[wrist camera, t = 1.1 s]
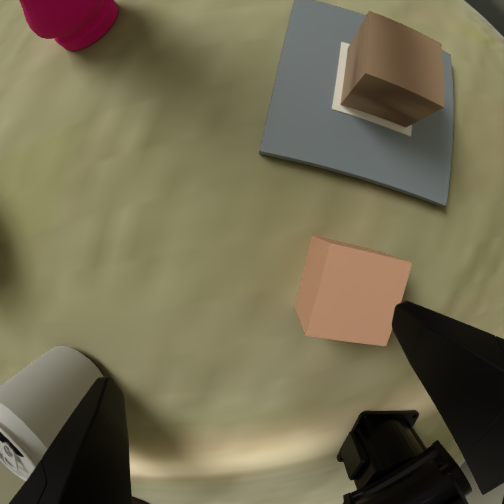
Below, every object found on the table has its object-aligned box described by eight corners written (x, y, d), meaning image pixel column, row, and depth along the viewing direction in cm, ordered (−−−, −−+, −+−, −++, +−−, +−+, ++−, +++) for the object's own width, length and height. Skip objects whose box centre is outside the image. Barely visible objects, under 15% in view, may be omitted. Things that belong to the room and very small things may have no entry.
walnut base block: (408, 71, 16) (441, 43, 11) (405, 127, 17) (444, 107, 12) (347, 48, 16) (369, 10, 11) (340, 104, 17) (365, 73, 12)
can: (119, 364, 21) (41, 458, 9) (112, 422, 22) (57, 508, 10) (50, 328, 20) (-42, 387, 9) (50, 387, 21) (-17, 452, 10)
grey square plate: (445, 59, 17) (451, 54, 15) (438, 205, 18) (446, 205, 17) (293, 3, 16) (295, -5, 15) (259, 154, 18) (259, 150, 17)
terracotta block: (377, 250, 19) (412, 262, 14) (359, 317, 20) (385, 346, 15) (311, 235, 19) (329, 242, 14) (294, 306, 20) (305, 335, 15)
